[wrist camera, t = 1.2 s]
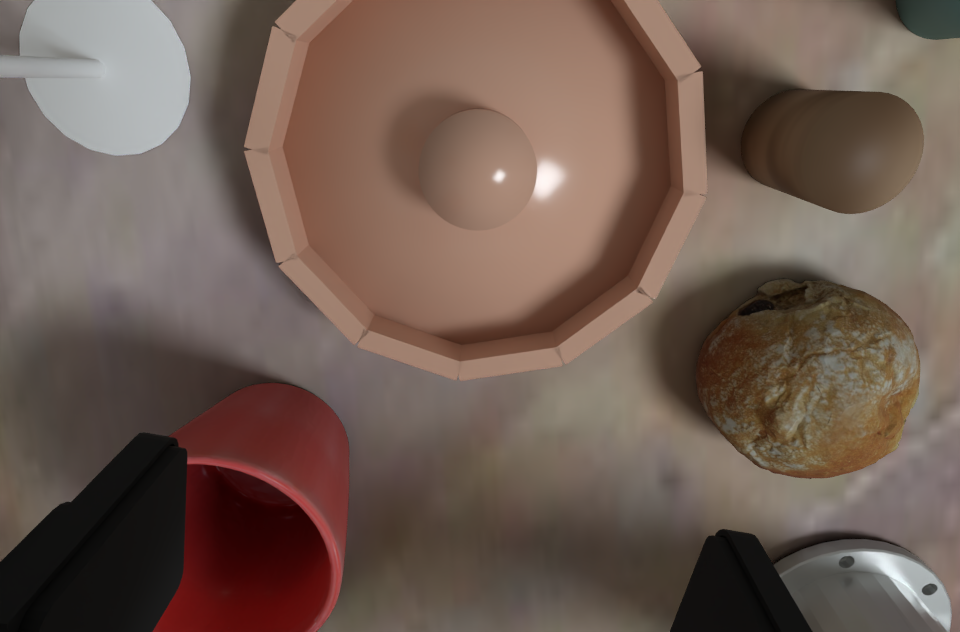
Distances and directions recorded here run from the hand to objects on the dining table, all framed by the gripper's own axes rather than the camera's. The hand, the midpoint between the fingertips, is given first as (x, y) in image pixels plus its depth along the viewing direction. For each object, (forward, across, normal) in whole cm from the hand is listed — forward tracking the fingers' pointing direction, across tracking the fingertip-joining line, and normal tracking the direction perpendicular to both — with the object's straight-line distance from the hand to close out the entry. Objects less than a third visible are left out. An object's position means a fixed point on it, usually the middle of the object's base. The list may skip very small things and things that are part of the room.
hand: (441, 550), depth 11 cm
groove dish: (+21, 0, -4) cm, 22 cm away
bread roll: (+22, -18, +3) cm, 28 cm away
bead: (+21, -14, -8) cm, 26 cm away
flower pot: (+21, +8, +13) cm, 26 cm away
